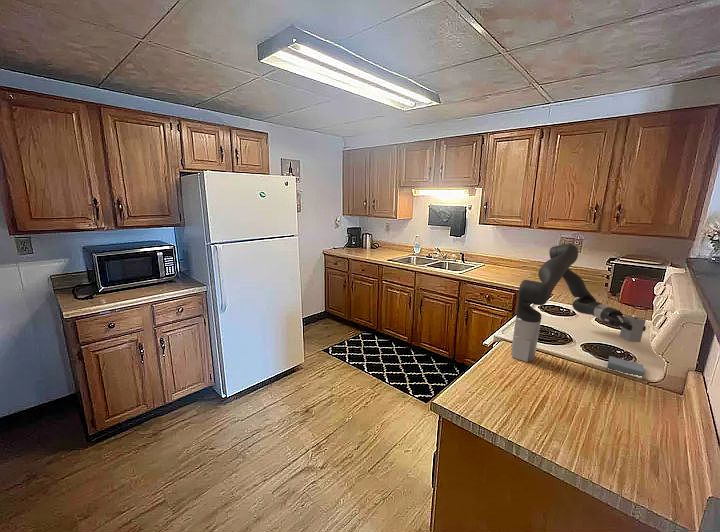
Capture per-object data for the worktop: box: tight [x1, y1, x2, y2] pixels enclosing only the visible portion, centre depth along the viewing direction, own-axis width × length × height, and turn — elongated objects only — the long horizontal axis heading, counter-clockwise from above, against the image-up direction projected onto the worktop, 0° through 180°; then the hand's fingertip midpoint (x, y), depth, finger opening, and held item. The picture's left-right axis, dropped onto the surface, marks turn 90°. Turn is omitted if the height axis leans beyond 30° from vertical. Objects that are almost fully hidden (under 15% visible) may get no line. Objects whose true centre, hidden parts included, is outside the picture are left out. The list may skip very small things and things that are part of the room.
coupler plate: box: [606, 355, 645, 378], centre depth 131 cm, size 12×11×3 cm
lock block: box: [618, 314, 647, 343], centre depth 138 cm, size 5×5×11 cm
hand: (637, 328), depth 136 cm, fingers closed on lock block, 5 cm apart
